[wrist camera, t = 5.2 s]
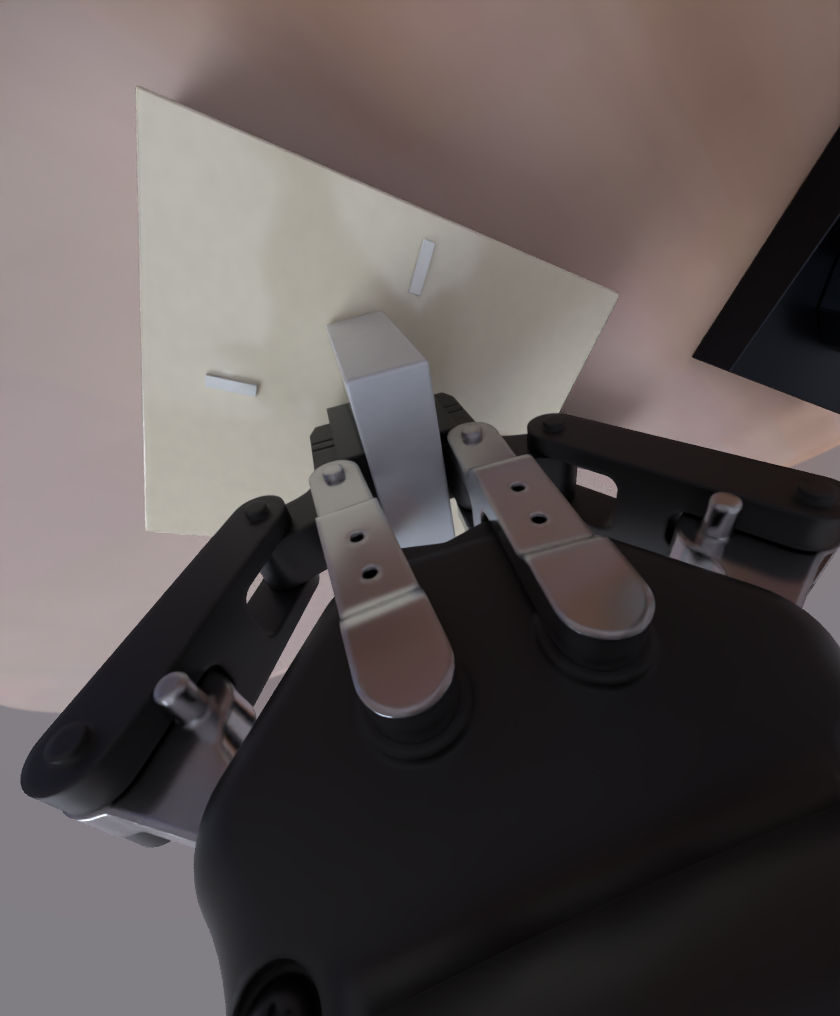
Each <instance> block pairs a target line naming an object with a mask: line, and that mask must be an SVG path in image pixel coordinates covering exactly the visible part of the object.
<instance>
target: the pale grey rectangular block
mask: <svg viewBox="0 0 840 1016" xmlns="http://www.w3.org/2000/svg"><path fill="white" fill-rule="evenodd" d="M326 332H327V335H328V338H329V342H330V345H331V348H332V352H333V355H334V359H335V362H336V365H337V369H338V372H339V375H340V379H341V382H342V386H343V389H344V392H345V396H346V399H347V402H348V406H349V408H350V411H351V414H352V417H353V420H354V423H355V426H356V429H357V432H358V435H359V438H360V442H361V445H362V448H363V451H364V454H365V457H366V461H367V464H368V467H369V471H370V474H371V478H372V481H373V484H374V488H375V491H376V495H377V498H378V501H379V503H380V505H381V507H382V510H383V512H384V514H385V516H386V518H387V520H388V522H389V524H390V526H391V528H392V530H393V532H394V534H395V536H396V539H397V541H398V543H399V545H400V547H401V548H406V547H414V546H422V545H430V544H438V543H444V542H447V541H449V540H451V539H453V538H455V537H456V535H455V528H454V522H453V516H452V509H451V503H450V496H449V490H448V483H447V477H446V470H445V464H444V457H443V451H442V444H441V438H440V432H439V425H438V419H437V412H436V406H435V399H434V393H433V386H432V380H431V373H430V367H429V362H428V361H427V359H426V358H425V357H424V356H423V355H422V354H421V353H420V352H419V351H418V349H417V348H416V347H415V346H414V345H413V344H412V343H411V342H410V341H409V339H408V338H407V337H406V336H405V335H404V334H403V333H402V332H401V331H400V330H399V328H398V327H397V326H396V325H395V324H394V323H393V322H392V321H391V320H390V318H389V317H388V316H387V315H386V314H385V313H384V312H383V311H378V312H374V313H370V314H366V315H362V316H358V317H354V318H350V319H347V320H343V321H339V322H335V323H331V324H327V325H326Z"/></svg>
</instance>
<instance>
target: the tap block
mask: <svg viewBox="0 0 840 1016" xmlns="http://www.w3.org/2000/svg"><path fill="white" fill-rule="evenodd" d="M135 102H136V148H137V194H138V240H139V286H140V332H141V378H142V424H143V470H144V516H145V531H146V532H157V533H170V534H183V535H195V536H208V537H213V536H214V535H215V534H216V532H217V531H218V530H219V529H220V528H221V527H222V525H223V524H224V523H225V522H226V521H227V520H228V518H229V517H230V516H231V515H232V514H233V513H234V511H235V510H236V509H237V508H239V507H240V506H241V505H242V504H244V503H246V502H247V501H249V500H252V499H254V498H257V497H260V496H265V495H275V496H279V497H281V498H282V499H283V501H284V502H285V504H287V503H289V502H291V501H293V500H295V499H297V498H298V497H300V496H302V495H303V494H305V493H306V492H307V491H308V490H309V489H310V485H309V477H310V475H311V474H312V473H313V472H314V464H313V457H312V449H311V442H310V435H311V433H312V432H313V430H314V428H315V427H318V426H322V425H325V424H329V418H328V414H327V410H326V409H327V408H331V407H335V406H338V405H342V404H346V403H348V402H347V399H346V396H345V392H344V389H343V386H342V382H341V379H340V375H339V372H338V369H337V365H336V362H335V359H334V355H333V352H332V348H331V345H330V342H329V338H328V335H327V332H326V325H327V324H331V323H335V322H339V321H343V320H347V319H350V318H354V317H358V316H362V315H366V314H370V313H374V312H378V311H383V312H384V313H385V314H386V315H387V316H388V317H389V318H390V320H391V321H392V322H393V323H394V324H395V325H396V326H397V327H398V328H399V330H400V331H401V332H402V333H403V334H404V335H405V336H406V337H407V338H408V339H409V341H410V342H411V343H412V344H413V345H414V346H415V347H416V348H417V349H418V351H419V352H420V353H421V354H422V355H423V356H424V357H425V358H426V359H427V361H428V362H429V367H430V373H431V380H432V386H433V393H434V394H437V393H441V392H443V393H446V394H448V395H451V396H453V397H454V398H455V399H456V400H457V401H458V402H459V404H460V405H461V406H462V407H463V408H464V409H465V410H466V411H467V413H468V414H469V415H470V416H471V417H472V418H473V419H474V421H475V422H484V423H488V424H491V425H492V426H494V427H495V428H496V429H497V431H498V432H499V433H500V435H501V436H509V435H519V434H527V425H528V423H529V421H531V420H532V419H533V418H535V417H537V416H540V415H544V414H550V413H559V412H560V410H561V408H562V406H563V404H564V402H565V400H566V398H567V396H568V394H569V392H570V390H571V389H572V387H573V385H574V383H575V381H576V379H577V377H578V375H579V373H580V371H581V369H582V367H583V365H584V363H585V361H586V360H587V358H588V356H589V354H590V352H591V350H592V348H593V346H594V344H595V342H596V340H597V338H598V336H599V334H600V333H601V331H602V329H603V327H604V325H605V323H606V321H607V319H608V317H609V315H610V313H611V311H612V309H613V307H614V305H615V304H616V302H617V300H618V298H619V295H620V294H619V293H618V292H616V291H613V290H611V289H609V288H606V287H604V286H602V285H599V284H597V283H595V282H592V281H590V280H588V279H585V278H583V277H581V276H579V275H576V274H574V273H572V272H569V271H567V270H565V269H562V268H560V267H558V266H555V265H553V264H551V263H548V262H546V261H544V260H542V259H539V258H537V257H535V256H532V255H530V254H528V253H525V252H523V251H521V250H518V249H516V248H514V247H511V246H509V245H507V244H504V243H502V242H500V241H498V240H495V239H493V238H491V237H488V236H486V235H484V234H481V233H479V232H477V231H474V230H472V229H470V228H467V227H465V226H463V225H460V224H458V223H456V222H454V221H451V220H449V219H447V218H444V217H442V216H440V215H437V214H435V213H433V212H430V211H428V210H426V209H423V208H421V207H419V206H416V205H414V204H412V203H410V202H407V201H405V200H403V199H400V198H398V197H396V196H393V195H391V194H389V193H386V192H384V191H382V190H379V189H377V188H375V187H372V186H370V185H368V184H366V183H363V182H361V181H359V180H356V179H354V178H352V177H349V176H347V175H345V174H342V173H340V172H338V171H335V170H333V169H331V168H328V167H326V166H324V165H322V164H319V163H317V162H315V161H312V160H310V159H308V158H305V157H303V156H301V155H298V154H296V153H294V152H291V151H289V150H287V149H284V148H282V147H280V146H278V145H275V144H273V143H271V142H268V141H266V140H264V139H261V138H259V137H257V136H254V135H252V134H250V133H247V132H245V131H243V130H240V129H238V128H236V127H234V126H231V125H229V124H227V123H224V122H222V121H220V120H217V119H215V118H213V117H210V116H208V115H206V114H203V113H201V112H199V111H196V110H194V109H192V108H190V107H187V106H185V105H183V104H180V103H178V102H176V101H173V100H171V99H169V98H166V97H164V96H162V95H159V94H157V93H155V92H152V91H150V90H148V89H146V88H143V87H141V86H136V88H135ZM450 503H451V509H452V516H453V522H454V528H455V535H456V536H458V535H460V534H462V533H464V532H465V529H464V527H463V525H462V522H461V520H460V518H459V515H458V511H457V504H456V500H455V498H452V499H450Z"/></svg>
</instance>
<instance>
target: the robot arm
mask: <svg viewBox="0 0 840 1016" xmlns="http://www.w3.org/2000/svg"><path fill="white" fill-rule="evenodd" d="M434 399H435V406H436V412H437V419H438V425H439V432H440V438H441V444H442V451H443V457H444V464H445V470H446V477H447V483H448V490H449V496H450V499H452V498H455V500H456V504H457V511H458V515H459V518H460V520H461V522H462V525H463V527H464V529H465V532H464V533H462V534H460V535H458V536H456V537H455V538H453V539H451V540H449V541H447V542H444V543H438V544H430V545H422V546H414V547H406V548H401V547H400V545H399V543H398V541H397V539H396V536H395V534H394V532H393V530H392V528H391V526H390V524H389V522H388V520H387V518H386V516H385V514H384V512H383V510H382V507H381V505H380V503H379V501H378V498H377V495H376V491H375V488H374V484H373V481H372V478H371V474H370V471H369V467H368V464H367V461H366V457H365V454H364V451H363V448H362V445H361V442H360V438H359V435H358V432H357V429H356V426H355V423H354V420H353V417H352V414H351V411H350V408H349V406H348V403H346V404H342V405H338V406H335V407H331V408H327V409H326V410H327V414H328V418H329V424H325V425H322V426H318V427H315V428H314V430H313V432H312V433H311V435H310V442H311V449H312V457H313V464H314V472H313V473H312V474H311V475H310V477H309V485H310V489H309V490H308V491H307V492H306V493H305V494H303V495H302V496H300V497H298V498H297V499H295V500H293V501H291V502H289V503H287V504H285V502H284V501H283V499H282V498H281V497H279V496H275V495H265V496H260V497H257V498H254V499H252V500H249V501H247V502H246V503H244V504H242V505H241V506H240V507H239V508H237V509H236V510H235V511H234V513H233V514H232V515H231V516H230V517H229V518H228V520H227V521H226V522H225V523H224V524H223V525H222V527H221V528H220V529H219V530H218V531H217V532H216V534H215V535H214V536H213V537H212V538H211V539H210V541H209V542H208V543H207V544H206V545H205V546H204V548H203V549H202V550H201V551H200V552H199V553H198V555H197V556H196V557H195V558H194V559H193V560H192V562H191V563H190V564H189V565H188V566H187V567H186V569H185V570H184V571H183V572H182V573H181V574H180V576H179V577H178V578H177V579H176V580H175V581H174V583H173V584H172V585H171V586H170V587H169V588H168V590H167V591H166V592H165V593H164V594H163V595H162V597H161V598H160V599H159V600H158V601H157V602H156V604H155V605H154V606H153V607H152V608H151V609H150V611H149V612H148V613H147V614H146V615H145V616H144V618H143V619H142V620H141V621H140V622H139V623H138V625H137V626H136V627H135V628H134V629H133V630H132V632H131V633H130V634H129V635H128V636H127V637H126V639H125V640H124V641H123V642H122V643H121V644H120V646H119V647H118V648H117V649H116V650H115V651H114V653H113V654H112V655H111V656H110V657H109V658H108V660H107V661H106V662H105V663H104V664H103V665H102V667H101V668H100V669H99V670H98V671H97V672H96V674H95V675H94V676H93V677H92V678H91V679H90V681H89V682H88V683H87V684H86V685H85V686H84V688H83V689H82V690H81V691H80V692H79V693H78V695H77V696H76V697H75V698H74V699H73V700H72V702H71V703H70V704H69V705H68V706H67V707H66V709H65V710H64V711H63V712H62V713H61V714H60V716H59V717H58V718H57V719H56V720H55V721H54V723H53V724H52V725H51V726H50V727H49V728H48V730H47V731H46V732H45V733H44V734H43V736H42V737H41V738H40V739H39V740H38V742H37V743H36V744H35V746H34V747H33V748H32V750H31V752H30V753H29V755H28V757H27V759H26V761H25V764H24V766H23V768H22V773H21V787H22V789H23V791H24V793H25V794H27V795H28V796H30V797H32V798H34V799H37V800H39V801H41V802H44V803H46V804H48V805H51V806H53V807H55V808H57V809H60V810H62V811H63V813H64V814H65V815H66V816H68V817H69V818H71V819H74V820H76V821H79V822H81V823H83V824H85V825H88V826H90V827H93V828H95V829H97V830H100V831H102V832H104V833H106V834H109V835H111V836H114V837H124V838H126V839H128V840H131V841H133V842H135V843H138V844H140V845H142V846H145V847H158V846H161V845H164V844H166V843H168V842H170V841H174V842H177V843H180V844H183V845H186V846H189V847H192V848H195V854H194V881H195V889H196V894H197V899H198V903H199V906H200V909H201V912H202V914H203V917H204V919H205V921H206V924H207V926H208V928H209V930H210V933H211V936H212V938H213V942H214V945H215V948H216V952H217V955H218V959H219V964H220V969H221V974H222V979H223V987H224V994H225V1003H226V1016H840V647H839V645H838V644H837V643H836V642H835V640H834V639H833V637H832V636H831V635H830V633H829V632H828V631H827V630H826V629H825V628H824V627H823V626H822V625H821V624H820V623H819V622H818V621H817V620H816V619H814V618H813V617H812V616H811V615H810V614H809V613H807V612H806V611H805V610H803V609H802V607H803V604H804V602H805V600H806V597H807V595H808V594H809V592H810V591H811V589H812V588H813V586H814V585H815V583H816V581H817V580H818V579H819V577H820V576H821V574H822V573H823V571H824V570H825V568H826V567H827V565H828V563H829V562H830V561H831V559H832V558H833V556H834V555H835V553H836V552H837V550H838V549H839V547H840V481H837V480H835V479H832V478H828V477H825V476H821V475H816V474H812V473H808V472H804V471H799V470H796V469H792V468H787V467H783V466H779V465H775V464H771V463H767V462H762V461H758V460H754V459H750V458H746V457H742V456H738V455H733V454H729V453H725V452H721V451H717V450H713V449H708V448H704V447H700V446H696V445H692V444H688V443H684V442H679V441H675V440H671V439H667V438H663V437H659V436H654V435H650V434H646V433H642V432H638V431H634V430H630V429H625V428H621V427H617V426H613V425H609V424H605V423H600V422H596V421H592V420H588V419H584V418H580V417H576V416H571V415H567V414H561V413H550V414H544V415H540V416H537V417H535V418H533V419H532V420H531V421H529V423H528V425H527V434H519V435H509V436H501V435H500V433H499V432H498V431H497V429H496V428H495V427H494V426H492V425H491V424H488V423H484V422H475V421H474V419H473V418H472V417H471V416H470V415H469V414H468V413H467V411H466V410H465V409H464V408H463V407H462V406H461V405H460V404H459V402H458V401H457V400H456V399H455V398H454V397H453V396H451V395H448V394H446V393H443V392H441V393H437V394H434ZM577 466H578V467H581V468H584V469H587V470H590V471H593V472H596V473H600V474H603V475H606V476H608V477H610V478H611V479H612V480H613V481H614V482H615V484H616V485H617V489H618V492H617V498H614V497H611V496H608V495H605V494H602V493H600V492H597V491H594V490H591V489H588V488H585V487H582V486H580V485H577V484H576V477H577ZM326 569H328V572H329V576H330V580H331V584H332V588H333V592H334V596H335V597H334V598H333V599H332V600H331V602H330V603H329V604H328V606H327V607H326V609H325V610H324V612H323V613H322V615H321V617H320V618H319V620H318V621H317V623H316V625H315V626H314V628H313V629H312V631H311V633H310V634H309V636H308V638H307V639H306V641H305V642H304V644H303V646H302V647H301V649H300V650H299V652H298V654H297V655H296V657H295V659H294V660H293V662H292V663H291V665H290V667H289V668H288V670H287V671H286V673H285V675H284V677H283V678H282V680H281V681H280V683H279V684H278V686H277V688H276V689H275V691H274V692H273V694H272V696H271V697H270V699H269V701H268V702H267V704H266V705H265V707H264V709H263V710H262V712H261V713H260V715H259V717H258V718H257V720H256V713H255V710H254V708H253V707H254V705H255V703H256V701H257V699H258V697H259V695H260V693H261V692H262V690H263V688H264V686H265V684H266V682H267V680H268V678H269V676H270V675H271V673H272V671H273V669H274V667H275V665H276V663H277V661H278V659H279V658H280V656H281V654H282V652H283V650H284V648H285V646H286V644H287V642H288V641H289V639H290V637H291V635H292V633H293V631H294V629H295V627H296V625H297V624H298V622H299V620H300V618H301V616H302V614H303V612H304V610H305V608H306V607H307V605H308V603H309V601H310V599H311V597H312V595H313V593H314V591H315V590H316V588H317V586H318V583H319V574H320V573H321V572H323V571H325V570H326ZM259 572H260V573H261V574H262V576H263V578H264V579H263V580H262V582H261V583H260V585H259V586H258V588H257V589H256V591H255V592H254V594H253V596H252V597H251V599H250V600H249V602H248V603H246V596H247V592H248V589H249V587H250V585H251V584H252V582H253V581H254V579H255V578H256V577H257V575H258V574H259Z"/></svg>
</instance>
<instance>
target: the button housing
mask: <svg viewBox="0 0 840 1016" xmlns="http://www.w3.org/2000/svg"><path fill="white" fill-rule="evenodd" d="M692 357H693V358H695V359H698V360H700V361H703V362H705V363H708V364H711V365H713V366H716V367H718V368H721V369H723V370H726V371H729V372H731V373H734V374H736V375H739V376H742V377H744V378H747V379H749V380H752V381H755V382H757V383H760V384H762V385H765V386H768V387H770V388H773V389H775V390H778V391H781V392H783V393H786V394H788V395H791V396H794V397H796V398H799V399H801V400H804V401H807V402H809V403H812V404H814V405H817V406H820V407H822V408H825V409H827V410H830V411H832V412H835V413H838V414H840V128H839V129H838V131H837V132H836V134H835V135H834V137H833V138H832V140H831V142H830V143H829V145H828V146H827V148H826V149H825V151H824V152H823V154H822V156H821V157H820V159H819V160H818V162H817V163H816V165H815V166H814V168H813V170H812V171H811V173H810V174H809V176H808V177H807V179H806V180H805V182H804V184H803V185H802V187H801V188H800V190H799V191H798V193H797V194H796V196H795V198H794V199H793V201H792V202H791V204H790V205H789V207H788V208H787V210H786V212H785V213H784V215H783V216H782V218H781V219H780V221H779V222H778V224H777V225H776V227H775V229H774V230H773V232H772V233H771V235H770V236H769V238H768V239H767V241H766V243H765V244H764V246H763V247H762V249H761V250H760V252H759V253H758V255H757V257H756V258H755V260H754V261H753V263H752V264H751V266H750V267H749V269H748V271H747V272H746V274H745V275H744V277H743V278H742V280H741V281H740V283H739V285H738V286H737V288H736V289H735V291H734V292H733V294H732V295H731V297H730V299H729V300H728V302H727V303H726V305H725V306H724V308H723V309H722V311H721V313H720V314H719V316H718V317H717V319H716V320H715V322H714V323H713V325H712V327H711V328H710V330H709V331H708V333H707V334H706V336H705V337H704V339H703V340H702V342H701V344H700V345H699V347H698V348H697V350H696V351H695V353H694V354H693V356H692Z"/></svg>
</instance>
